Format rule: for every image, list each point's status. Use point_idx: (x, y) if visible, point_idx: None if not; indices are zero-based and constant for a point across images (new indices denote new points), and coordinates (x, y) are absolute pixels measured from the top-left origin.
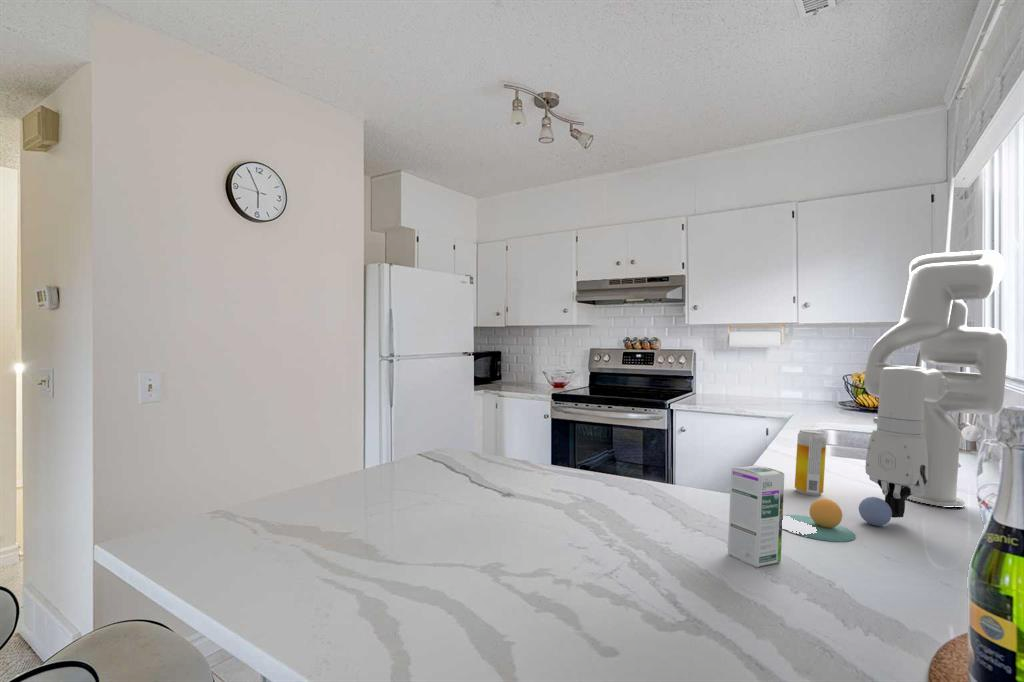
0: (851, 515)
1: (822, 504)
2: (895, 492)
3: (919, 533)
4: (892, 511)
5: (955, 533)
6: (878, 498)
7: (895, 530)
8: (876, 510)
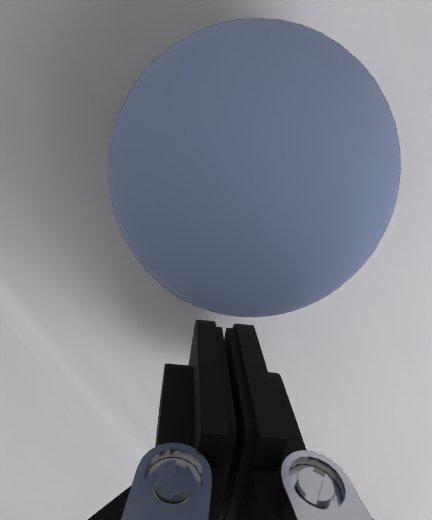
0: (414, 214)
1: None
2: (186, 513)
3: (37, 303)
4: (196, 341)
5: (12, 486)
6: (246, 221)
7: None
8: (169, 48)
